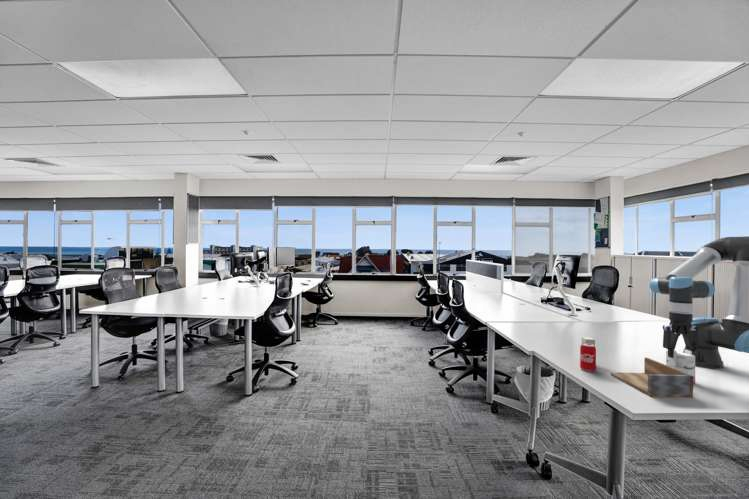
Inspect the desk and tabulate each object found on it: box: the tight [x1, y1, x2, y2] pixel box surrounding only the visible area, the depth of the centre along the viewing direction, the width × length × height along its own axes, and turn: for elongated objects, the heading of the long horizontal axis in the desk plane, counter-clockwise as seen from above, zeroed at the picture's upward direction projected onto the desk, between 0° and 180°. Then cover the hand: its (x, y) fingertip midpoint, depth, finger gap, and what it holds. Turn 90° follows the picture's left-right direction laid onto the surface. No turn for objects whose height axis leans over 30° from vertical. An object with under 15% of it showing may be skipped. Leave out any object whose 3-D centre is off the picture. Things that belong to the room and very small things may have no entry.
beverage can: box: [579, 342, 597, 373], centre depth 154 cm, size 6×6×12 cm
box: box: [581, 336, 596, 346], centre depth 162 cm, size 5×4×13 cm
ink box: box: [665, 349, 696, 384], centre depth 143 cm, size 8×5×12 cm, turn 12°
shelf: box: [610, 357, 694, 399], centre depth 137 cm, size 16×22×8 cm
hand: (680, 365), depth 143 cm, fingers closed on ink box, 6 cm apart
